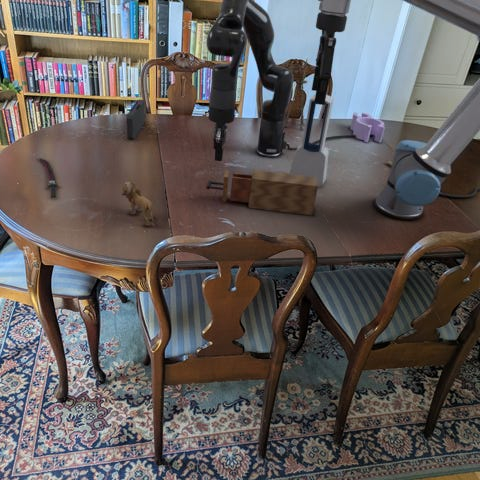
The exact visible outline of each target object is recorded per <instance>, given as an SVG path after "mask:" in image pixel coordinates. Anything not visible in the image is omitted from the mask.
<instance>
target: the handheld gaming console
mask: <svg viewBox="0 0 480 480" xmlns="http://www.w3.org/2000/svg"><path fill="white" fill-rule="evenodd" d="M145 122H146V102H145V99H141V98H140V99H138V100H137V101H136V102H135V103H134V104H133V106H131V108H130V109H129V111H128V113H127V114H126V137H127V139H128V140H134V139H135V138H136V136H138V133H139V132H140V131H141V129H142V127H143V126H144V124H145Z"/></svg>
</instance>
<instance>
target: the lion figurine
mask: <svg viewBox="0 0 480 480" xmlns="http://www.w3.org/2000/svg"><path fill="white" fill-rule="evenodd" d="M119 193H120V194H121V196H122V197H124V196H125V198H126V199H127V200H128V202H129V203H130V207H131V211H130V212H129V213H130V215H135V214H136V211H137V212H141V214H142V216H143V218H144V219H145V223H144V225H145V227H149V226H150V221H152V223H153V225H155V226H159V222H156V221H155V219H154V217H153V216H154V215H153V204H152V202H151V200H150V199H148V198H146V197H145V196H144V195H143V194H142V192H141V190H140V187H138V185H136V184H135V183H133V182H132V181H125V182H124V186H122V188H121V189H119ZM136 207H137V208H136ZM148 214H149V216H148Z"/></svg>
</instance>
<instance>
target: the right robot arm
mask: <svg viewBox="0 0 480 480" xmlns="http://www.w3.org/2000/svg"><path fill="white" fill-rule="evenodd" d="M317 1H318V2H319V7H318V10H319V11H320V12H318V13H317V16H316V21H315V22H316V23H315V28H316V29H317V30H319V31H321V35H320V36H319V44H318V50H317V54H316V58H315V68H314V73H313V80H312V86H311V91H314V92H315V94H314V95H315V101H314V104H316V105H320V106H325V99H326V95H328V94H327V93H328V88H329V83H330V80H331V78H332V71H333V62H334V56H335V49H336V48H335V47H336V44H337V37H335V35H336V33H344V32H345V30H346V27H347V21H348V16H347V14H349V12H350V8H351V7H350V6H351V2H352V0H317ZM401 1H402V2H405V3H407V4H409V5H411V6H413V7H415V8H417V9H419V10H421V11H423V12H426V13H428V14H430V15H432V16H434V17H436V18H439V19H441V20H443V21H445V22H447V23H449V24H451V25H454V26H455V27H458V28H460V29H462V30H464V31H466V32H468V33H471V34H473V35H475V37H476V40H477V42H480V0H401ZM479 132H480V77H479V78H478V80H477V81H476V82H475V83H474V84H473V86H472V87H471V88H470V89H469V91H468V92H467V93H466V94H465V96H464V97H463V98H462V99H461V101H459V103H458V104H457V105H456V106H455V108H454V109H453V110H452V111H451V113H450V114H449V115H448V117H447V118H446V119H445V121H444V122H443V123H442V124H441V125H440V126H439V128H438V129H437V131H436V132H435V133H434V134H433V136H432V137H430V138H429V140H428V142H422V141H417V140H412V139H411V140H410V139H406V140H401V141H399V142H398V144H397V147H396V148H395V152H394V153H395V154H394V156H393V160H392V166H390V170H389V174H388V177H387V180H386V184H384V186H383V188H381V189H380V191H379V194H378V195H377V197H376V199H375V202H374V207H375V208H376V209H377V210H378V211H379V212H380V213H381V214H383V215H385V216H386V217H390V218H393V219H396V220H401V221H414V220H417V219H419V218H421V217H422V215H423V212H424V206H426V205H429V204H431V203H432V202H434V201H435V200H436V199H437V198H438V197H439V196H440V197H446V198H451V199H468V198H469V199H470V198H472V197H474V196H475V195H476V194H477V192H478V191H479V187H478V186H476V187H475V188H474V189H473V192H472V193H470V194H463V195H462V194H449V193H444V192H440V191H441V185H442V184H443V182H444V181H446V179H447V178H448V176H449V175H450V174H452V164H453V162H454V161H455V160H456V159H457V158H458V156H459V155H461V153H462V152H463V151H464V150H465V149H466V147H467V146H468V145H469V144H470V143H471V141H472V140H473V139H474V138H475V137H476V136H477V134H478V133H479Z"/></svg>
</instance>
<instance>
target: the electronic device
mask: <svg viewBox="0 0 480 480" xmlns="http://www.w3.org/2000/svg"><path fill="white" fill-rule="evenodd" d="M315 95H316V94H313V96H312V97H310V99H309V103H308V109H307V115H306V121H305V127H304V132H303V138H302V143H300V144H299V145H298V147H296V148H297V150H295V152H294V156H293V159H292V162H291V166H290V169H289V173H288V174H291V175H300V176H308V177H317V183H318V188H320V187H321V186H322V185H324V183H325V181H326V179H327V173H328V163H329V162H328V161H329V153H330V150H329V149H328V148H327V147H326V146H325V145H326V138H327V135H328V130H329V125H330V119H331V114H332V109H333V104H334V100H335V98H334V97H332V96H331V95H328V94H326V99H325V104H324V106H325V110H324V115H323V120H322V126H321V132H320V136H319V140H320V141H319V142H318V144H312V143H313V142H310V139H311V133H312V129H313V122H314V117H315V111H316V107H317V104H314V101H315Z"/></svg>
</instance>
